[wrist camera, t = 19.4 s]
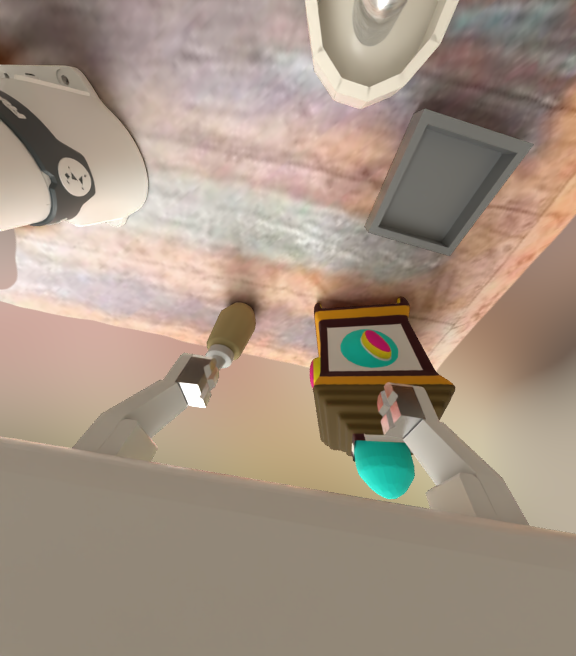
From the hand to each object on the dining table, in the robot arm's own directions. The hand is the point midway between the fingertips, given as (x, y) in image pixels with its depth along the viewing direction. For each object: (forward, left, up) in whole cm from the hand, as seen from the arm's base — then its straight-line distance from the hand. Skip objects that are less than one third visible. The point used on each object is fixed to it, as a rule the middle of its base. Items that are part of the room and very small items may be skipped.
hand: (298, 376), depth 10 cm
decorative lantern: (+16, -19, -31) cm, 40 cm away
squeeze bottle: (-10, -22, -31) cm, 40 cm away
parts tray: (+14, +8, -31) cm, 35 cm away
